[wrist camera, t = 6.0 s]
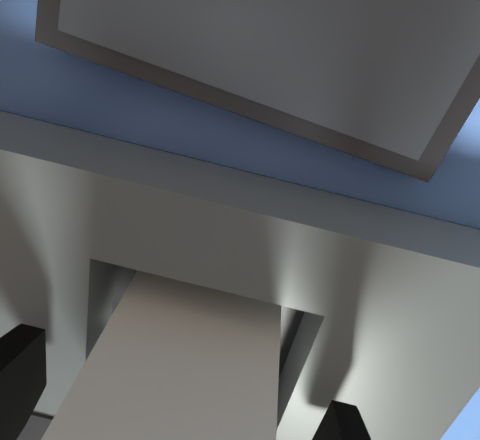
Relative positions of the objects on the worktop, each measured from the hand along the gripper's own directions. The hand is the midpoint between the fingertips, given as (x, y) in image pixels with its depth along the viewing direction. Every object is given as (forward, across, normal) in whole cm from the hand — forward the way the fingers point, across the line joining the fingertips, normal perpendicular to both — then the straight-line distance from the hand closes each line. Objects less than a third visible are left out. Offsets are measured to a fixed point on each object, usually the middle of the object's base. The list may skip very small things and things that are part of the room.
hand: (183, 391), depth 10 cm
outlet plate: (+3, +1, +1) cm, 3 cm away
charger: (+2, 0, 0) cm, 3 cm away
